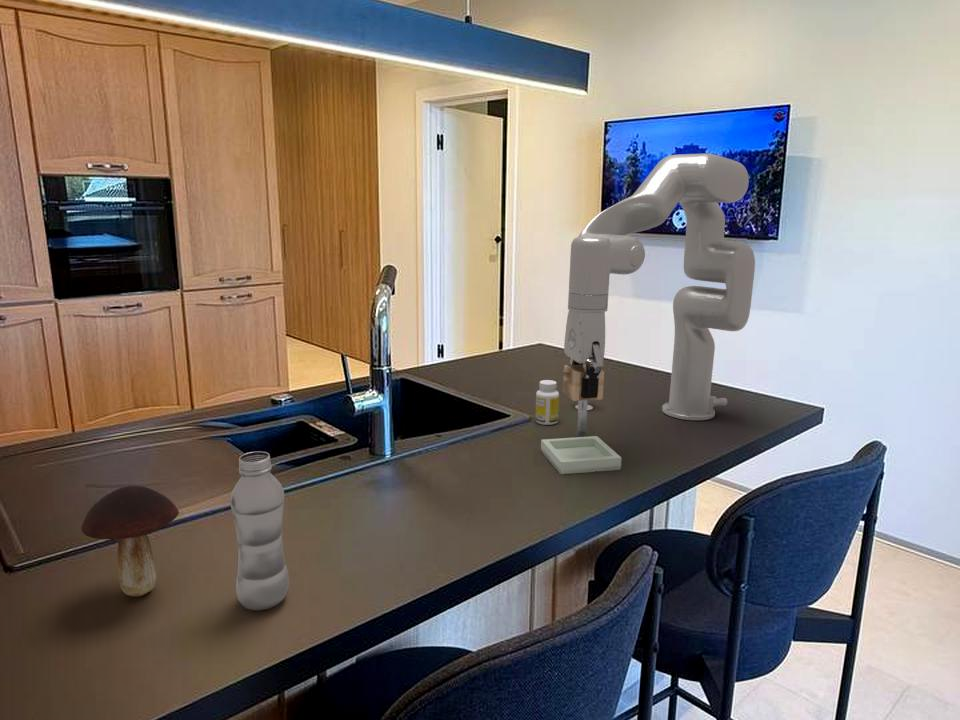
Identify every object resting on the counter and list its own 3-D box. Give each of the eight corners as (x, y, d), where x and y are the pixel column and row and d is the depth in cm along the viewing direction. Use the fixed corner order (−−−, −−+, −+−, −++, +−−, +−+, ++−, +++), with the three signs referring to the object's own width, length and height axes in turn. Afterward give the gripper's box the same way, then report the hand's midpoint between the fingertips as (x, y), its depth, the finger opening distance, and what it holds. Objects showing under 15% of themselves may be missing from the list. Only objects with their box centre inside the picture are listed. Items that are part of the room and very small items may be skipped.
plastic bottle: (225, 610, 84) (213, 462, 80) (260, 582, 90) (251, 444, 86) (267, 622, 82) (257, 471, 77) (300, 593, 88) (293, 451, 83)
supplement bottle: (557, 418, 160) (559, 379, 158) (558, 426, 155) (560, 385, 153) (535, 417, 161) (536, 378, 158) (534, 425, 155) (536, 384, 153)
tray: (596, 447, 142) (596, 436, 142) (620, 469, 130) (621, 457, 130) (540, 450, 139) (541, 439, 139) (560, 474, 128) (561, 462, 127)
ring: (558, 392, 134) (559, 365, 132) (595, 390, 135) (597, 364, 134) (568, 401, 128) (570, 372, 127) (607, 399, 130) (609, 371, 128)
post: (583, 436, 149) (585, 393, 146) (586, 439, 147) (589, 395, 144) (575, 436, 148) (577, 393, 146) (578, 439, 146) (580, 396, 144)
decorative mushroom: (137, 565, 94) (126, 466, 91) (203, 579, 91) (194, 477, 87) (71, 609, 84) (55, 500, 80) (142, 626, 81) (129, 513, 77)
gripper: (554, 296, 135) (550, 382, 139) (586, 309, 118) (580, 406, 122) (589, 295, 136) (584, 380, 140) (625, 309, 120) (618, 404, 124)
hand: (582, 391), depth 131 cm, fingers closed on ring, 6 cm apart
